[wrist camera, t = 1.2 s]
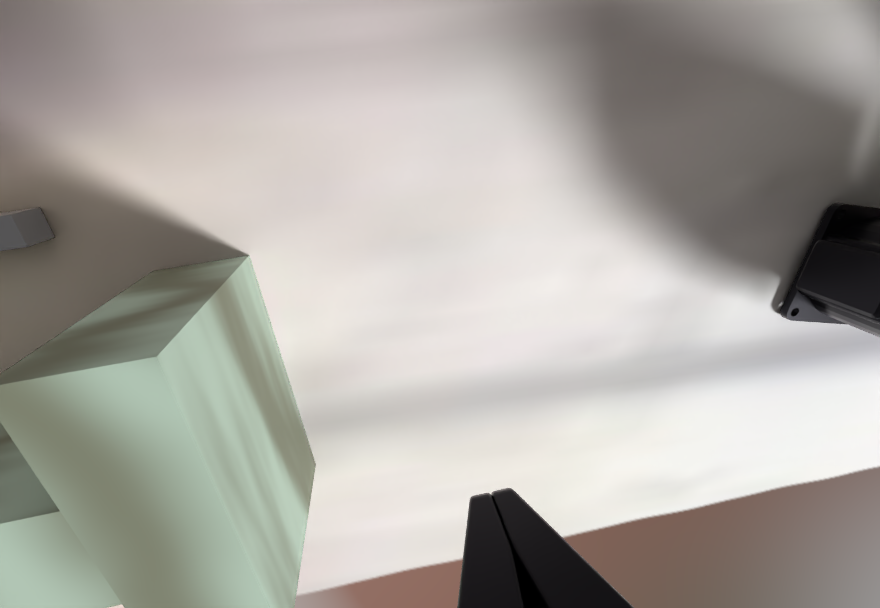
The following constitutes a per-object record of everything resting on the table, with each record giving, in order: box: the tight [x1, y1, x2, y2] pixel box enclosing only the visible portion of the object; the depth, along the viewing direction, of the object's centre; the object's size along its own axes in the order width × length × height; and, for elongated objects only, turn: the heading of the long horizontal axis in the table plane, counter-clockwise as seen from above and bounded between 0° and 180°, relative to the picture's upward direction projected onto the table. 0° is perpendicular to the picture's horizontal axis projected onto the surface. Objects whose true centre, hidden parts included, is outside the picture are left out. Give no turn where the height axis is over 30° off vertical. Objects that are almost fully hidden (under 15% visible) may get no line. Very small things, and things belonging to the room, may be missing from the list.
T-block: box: [0, 256, 316, 608], centre depth 16 cm, size 14×12×9 cm
